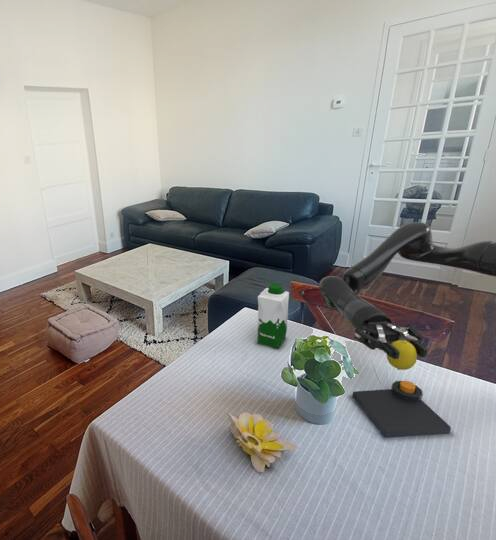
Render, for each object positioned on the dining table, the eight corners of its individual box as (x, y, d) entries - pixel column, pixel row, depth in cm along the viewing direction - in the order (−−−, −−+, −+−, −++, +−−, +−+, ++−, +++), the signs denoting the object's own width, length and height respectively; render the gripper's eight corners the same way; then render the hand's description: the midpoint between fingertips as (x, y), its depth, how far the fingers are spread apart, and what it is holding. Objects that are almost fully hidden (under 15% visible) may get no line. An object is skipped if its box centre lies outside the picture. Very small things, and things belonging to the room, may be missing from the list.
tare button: (408, 385, 86) (409, 380, 86) (417, 393, 84) (418, 388, 83) (396, 386, 87) (397, 381, 86) (405, 394, 84) (406, 389, 83)
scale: (408, 390, 89) (410, 379, 88) (453, 433, 76) (457, 421, 74) (350, 394, 90) (351, 384, 88) (385, 437, 77) (387, 425, 75)
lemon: (418, 377, 77) (425, 347, 74) (391, 376, 78) (397, 347, 75) (405, 362, 82) (411, 334, 79) (379, 362, 83) (384, 334, 80)
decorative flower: (308, 467, 70) (299, 432, 67) (260, 490, 69) (248, 455, 66) (269, 418, 84) (259, 387, 81) (228, 437, 83) (217, 406, 80)
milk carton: (288, 338, 116) (292, 285, 109) (280, 351, 110) (282, 296, 103) (263, 331, 122) (265, 281, 115) (253, 343, 116) (254, 291, 109)
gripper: (339, 307, 90) (380, 343, 75) (395, 303, 90) (448, 338, 74) (336, 331, 93) (375, 370, 77) (390, 327, 92) (441, 366, 76)
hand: (411, 354), depth 76 cm, fingers closed on lemon, 5 cm apart
